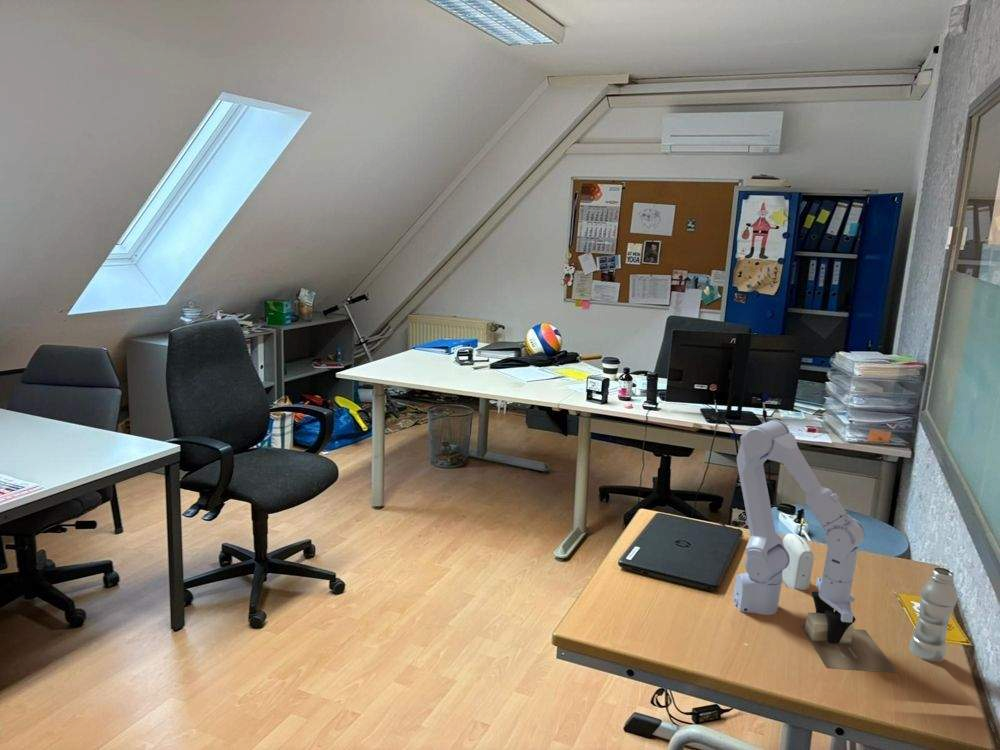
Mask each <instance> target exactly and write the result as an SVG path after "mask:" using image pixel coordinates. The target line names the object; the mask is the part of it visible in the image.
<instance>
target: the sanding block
mask: <svg viewBox="0 0 1000 750" xmlns="http://www.w3.org/2000/svg"><path fill="white" fill-rule="evenodd" d="M804 626H805V630H806V632H807V633H808V635H809V636H810V638H811V640H812V641H821V642H828V639H827V632H828V623H827V618H826V615H825V613H816V612H808V611H807V613H806V619H805V625H804ZM854 627H855V626H854V625H853V623H852V624H851V625H850V626H849V627H848V628H847V630H846V631H845V633H844V634H843V636H842V638H841V640H840V642H839V643H848V644H851V640H852V634H853V629H855V628H854Z"/></svg>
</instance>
